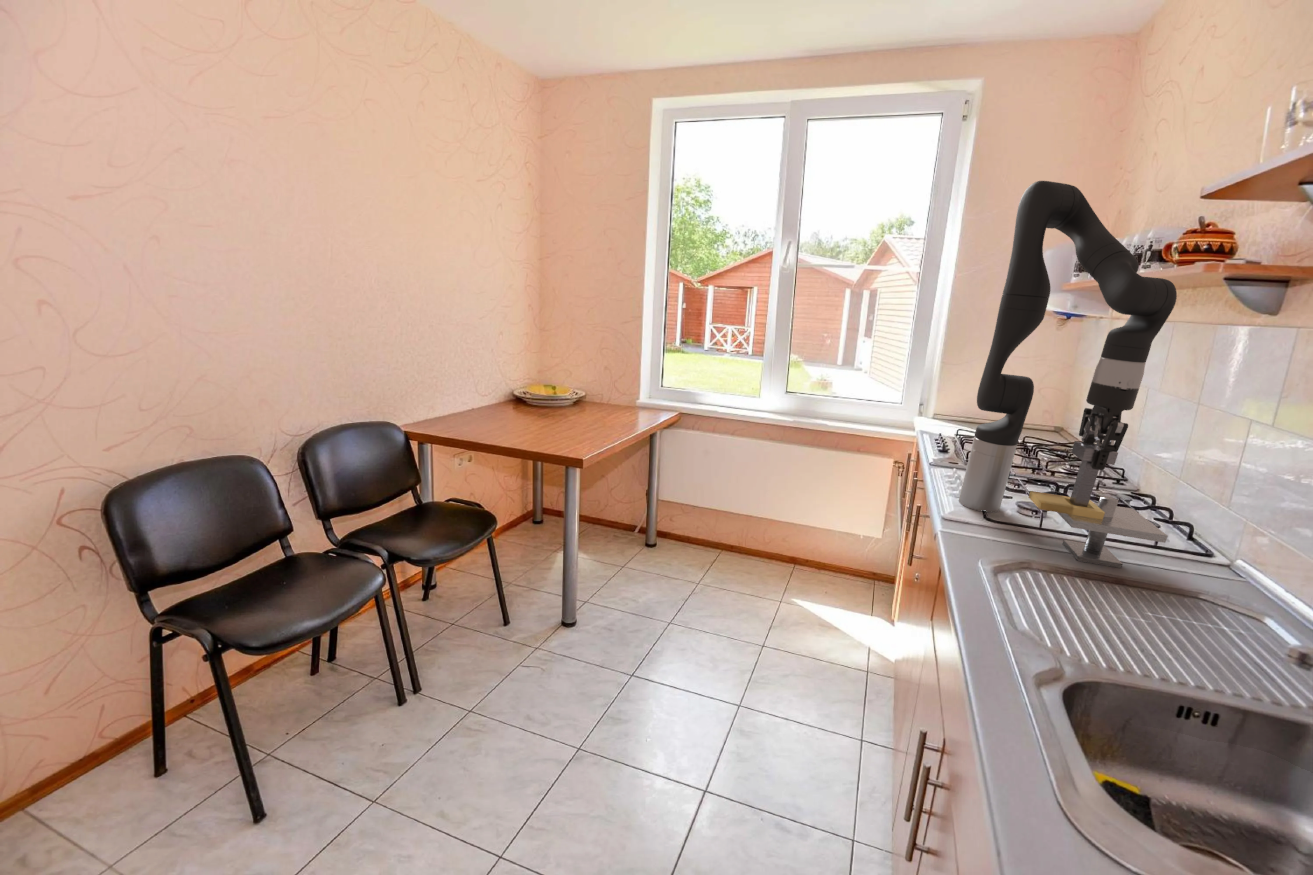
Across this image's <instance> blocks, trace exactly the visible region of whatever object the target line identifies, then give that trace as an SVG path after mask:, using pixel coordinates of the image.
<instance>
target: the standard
mask: <svg viewBox="0 0 1313 875" xmlns="http://www.w3.org/2000/svg"><path fill="white" fill-rule="evenodd" d="M1093 503H1094V504H1095V505H1097V506H1098V507H1099V508H1100V509H1101V510H1102V511H1104V512H1105V514H1104V517H1103V519H1097V518H1090V517H1084V516H1078V515H1072V514H1066V513H1059V512H1056V513H1057V514H1058V515H1059V516H1060V518H1062V519H1063V520H1064V521H1065V522H1066V523H1067V524H1068V525H1069V527H1071V528H1075V529H1078V530H1079V529H1081V530H1084V531H1085V530H1086V531H1088V535H1087V538H1086V540H1085V542H1079V541H1072V540H1066V539H1063V541H1062V546H1063V547H1064V548H1065V549H1066V550H1067V551H1068V552H1069V553H1070V555H1071V556H1073V558H1074V559H1075V561H1079V562H1084V563H1088V564H1095V565H1101V566H1105V567H1106V566H1107V567H1111V568H1118V569H1122V568H1123V565H1124V564H1123V562H1121V561H1120V559H1119V558H1117V556H1115V554H1114V553H1112V551H1110V550H1109V549H1108V548H1107V547H1106V546H1104V545H1105V543H1106V540H1107V536H1108V534H1110V535H1115V536H1121V537H1127V538H1135V539H1140V540H1147V541H1152V542H1157V543H1158V542H1159V543H1164V544H1165V543H1167V540H1168V537H1169V535H1168V534H1166V532H1163V531H1162V530H1161V529H1160V528H1158V526H1156V525H1155V524H1153V523H1152V522H1150V520H1149V519H1147V518H1146V517H1144V516H1143V515H1141V514H1140V513H1139V512H1138V511H1136V510H1135V509H1134V508H1131V507H1126V506H1125V507H1124V506H1118V504H1119V499H1117V498H1115V497H1112V496H1108V495H1100V496H1099V500H1098V502H1093Z"/></svg>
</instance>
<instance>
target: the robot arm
mask: <svg viewBox="0 0 1313 875" xmlns="http://www.w3.org/2000/svg"><path fill="white" fill-rule="evenodd" d="M1047 229H1051V230H1052V229H1053V230H1054V229H1056V230H1057V231H1059V232H1060V233H1063V234H1064V235H1065V236H1067V237H1068V238H1069V239H1070V240H1071V241H1072V242H1073V243H1074V247H1075V255H1076V257H1077V261H1078V262H1079V264H1080V266H1081V267H1082V268H1083V270H1085V272H1087V273H1088V274H1089V275H1090V276H1091V278H1092V279H1094V281H1096V283H1097V284H1098V287H1099V290H1100V292H1101V294H1102V297H1103V299H1104V301H1105V304H1106V305H1108V306H1109V307H1110V309H1112V310H1114V312H1117V313H1119V314H1121V315H1126V316H1127V315H1128V316H1129V318H1128V320H1127V321H1126V323H1125V324H1124V325H1122V326H1120V327H1115V328H1112V329H1111V330H1110V331H1108V333H1107V335H1106V338H1105V341H1104V344H1103V347H1102V351H1101V354H1100V358H1099V360H1098V363H1097V364H1096V367H1095V369H1094V372H1093V375H1092V379H1091V383H1090V385H1089V389H1088V393H1087V397H1086V403H1087V404H1089V405H1091V406H1093V407H1092V408H1087V407H1085V408H1084V410H1083V412H1082V413H1083V414H1082V419H1081V423H1080V428H1079V430H1078V431H1079V433H1078V436H1079V437H1081V442H1086V443H1093V444H1096V450H1095V453H1094V456H1093V460H1092V462H1091V468H1093V469H1097V470H1099V471H1104V470H1105V468H1106V465H1107V464H1106V462H1107V459H1108V456H1109V453H1110V452H1118V451H1119V449H1120V446H1121V445H1122V443H1123V442H1122V441H1123V440H1124V438H1125V436H1126V433H1127V430H1128V428H1129V424H1128V423H1125V422H1122V413H1123V412H1124V411H1131V410H1132V409H1133V408H1134V406H1135V404H1136V403H1135V402H1136V399H1137V397H1138V393H1139V390H1140V387H1141V384H1142V381H1143V378H1144V373H1145V367H1146V363H1147V360H1148V357H1149V354H1150V351H1151V347H1152V345H1153V344H1152V343H1153V341H1154V340H1155V338H1156V336H1157V335H1158V333H1160V331H1161V329H1162V328H1163V326H1164V325H1165V323H1166V322H1167V320H1168V319H1169V317H1170V315H1171V314H1172V313H1173V312H1172V311H1173V310H1174V308H1175V305H1176V302H1177V297H1178V295H1177V294H1178V293H1177V288H1176V286H1175V284H1174V282H1172V281H1170V280H1169V279H1166V278H1161V277H1152V276H1151V277H1150V276H1142V275H1141V274H1139V273H1138V271H1139V267H1140V265H1139V264H1140V263H1139V261H1138V259H1137V258H1136V256H1134V254H1133V253H1132V252H1131V251H1129V250H1128V248H1126V246H1124V245H1123V244H1122V243H1121V242H1120V241H1119V240H1118V239H1117V238H1116V237H1115V236H1114V235H1113V234H1112V233H1111V232H1110V231H1109V230H1108V228H1106V227H1105V225H1104V223H1103V222H1102V221H1101V220H1100V218H1099V217H1098V215H1097V214H1096V212H1095V211H1094V209H1093V207H1092V206H1091V205H1090V203H1089V202H1088V200H1087V198H1086V197H1085V195H1084V194H1083V193H1082V191H1081V190H1080V189H1079V188H1078V187H1077V186H1075V185H1072V184H1068V183H1063V182H1057V181H1056V182H1055V181H1049V180H1037V181H1035V182H1033V183H1032V184H1030V185H1029V186H1028V187H1027V188H1026V189H1025V190H1024V192H1023V193H1022V196H1021V198H1020V201H1019V204H1018V206H1017V211H1016V217H1015V226H1014V233H1013V241H1012V248H1011V256H1010V260H1009V265H1008V270H1007V274H1006V279H1005V284H1004V287H1003V289H1002V290H1003V291H1002V294H1001V298H1000V304H999V307H998V311H997V312H998V313H997V316H996V317H997V318H996V322H995V328H994V332H993V337H992V341H991V345H990V349H989V351H988V352H989V353H988V356H987V360H986V363H985V365H984V368H983V373H982V376H981V377H980V378H981V379H980V382H979V385H978V390H977V395H976V406H977V408H978V409H979V410H981V411H985V412H989V413H990V412H991V413H995V414H996V413H998V414H1005V416H1002V418H1000V419H997V420H995V421H991V422H985V423H981V424H979V425H978V426H977V427H976V429H975V432H974V435H973V436H974V437H973V440H972V444H971V449H970V453H969V456H968V457H969V458H968V461H967V464H966V469H965V474H964V477H963V482H962V485H961V489H960V494H959V497H958V503H960V505H962V506H964V507H966V508H968V509H972V510H974V511H977V510H978V512H982V511H981V510H986V511H987V512H986V513H993V514H994V513H999V511H1000V510H1001V507H1002V503H1003V498H1004V495H1005V492H1006V488H1007V485H1008V484H1007V483H1008V480H1009V477H1010V473H1011V469H1012V465H1013V461H1014V457H1015V453H1016V450H1017V446H1018V443H1019V439H1020V436H1021V434H1022V432H1023V428H1024V425H1025V421H1026V418H1027V416H1028V412H1029V410H1030V407H1031V404H1032V400H1033V396H1034V391H1035V384H1034V381H1033V379H1032V378H1030V377H1029V376H1024V375H1015V374H1006V373H1002V372H1003V370H1004V367H1005V364H1006V363H1007V361H1008V359H1009V357H1010V356H1011V355H1012V354H1013V352H1014V351H1015V350H1016V349H1017V348H1018V347H1019V346H1020V345H1021V344H1022V343H1023V342H1024V341H1025V340H1026V339H1027V338H1028V337H1029V336H1030V335H1032V333H1034V331H1035V330H1036V329H1037V328H1038V327H1039V326H1040V325H1041V323H1042V322H1043V320H1044V318H1045V316H1046V311H1047V307H1048V303H1049V299H1050V296H1051V295H1050V294H1051V282H1050V278H1049V277H1050V276H1049V273H1048V269H1047V266H1046V263H1045V258H1044V252H1043V251H1044V249H1043V248H1044V241H1045V235H1046V230H1047ZM1078 459H1079V460H1080V461H1082V460H1081V459H1080V458H1078Z"/></svg>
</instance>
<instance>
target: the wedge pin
mask: <svg viewBox="0 0 1313 875" xmlns="http://www.w3.org/2000/svg"><path fill="white" fill-rule="evenodd" d="M1096 444H1097V443H1095V444H1093V443H1086V442H1083V441H1079V440H1078V441H1075V440H1074V442H1073V445H1072V448H1071V454H1073V455H1074V456H1076V457H1077V458H1078V459H1079V458H1080V459H1081V460H1080V459H1079V460H1080V461H1081V462H1080V465H1079V468H1078V472H1077V474H1076V475H1077V476H1076V478H1075V482H1074V484H1073V488H1072V491H1071V495H1070V497H1071V498H1070V502H1071V503H1072V504H1073V505H1076V506H1083V507H1087V506H1088V503H1089V500H1091V496H1092V493H1093V490H1094V487H1095V483H1096V480H1097V476H1098V474H1099V471H1100V470H1097V469H1093V468H1091V462H1092V460H1093V456H1094V453H1095V450H1096ZM1118 455H1119V452H1118V451H1117V452H1110V453H1109V456H1108V459H1107V462H1106V465H1113V466H1116V465H1115V464H1116V461H1117V458H1118Z"/></svg>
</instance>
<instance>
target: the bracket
mask: <svg viewBox="0 0 1313 875" xmlns="http://www.w3.org/2000/svg"><path fill="white" fill-rule="evenodd" d="M1028 498H1029V499H1030V501H1031V502H1032V503H1033V504H1034V505H1035V506H1036V507H1037V508H1038V510H1040V511H1041V510H1042V511H1043V510H1044V511H1048V512H1053V513H1057V512H1059V513H1066V514H1072V515H1078V516H1084V517H1090V518H1097V519H1103V517H1104V514H1105V512H1104V511H1102V510H1101V509H1100V508H1099V507H1098V506H1097V505H1095V504H1094V503H1095V502H1094V501H1092V500H1091V499H1090V500H1089V503H1088V506H1087V507H1083V506H1076V505H1073V504H1072V503H1071V502H1070V498H1071V496H1065V495H1059V494H1054V493H1048V492H1047V493H1046V492H1041V491H1035V490H1030V492H1029V495H1028Z"/></svg>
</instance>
